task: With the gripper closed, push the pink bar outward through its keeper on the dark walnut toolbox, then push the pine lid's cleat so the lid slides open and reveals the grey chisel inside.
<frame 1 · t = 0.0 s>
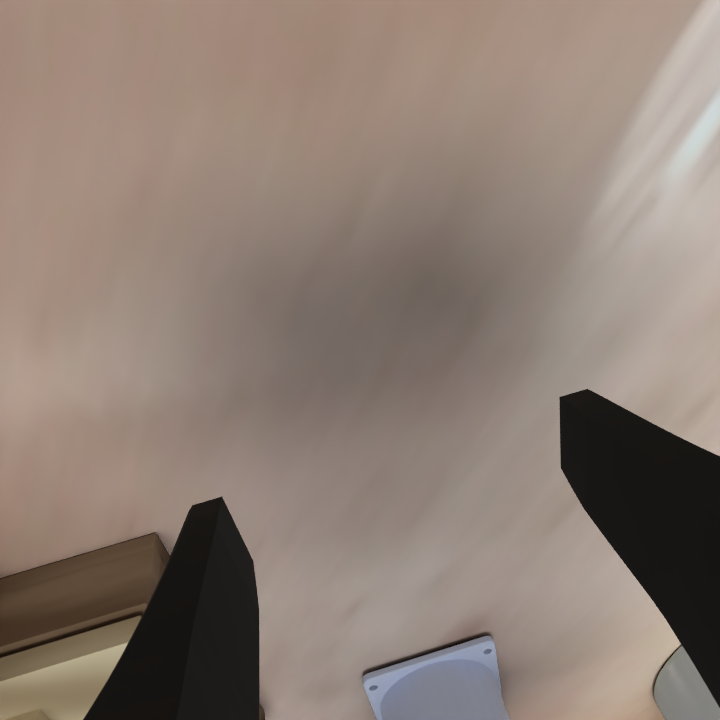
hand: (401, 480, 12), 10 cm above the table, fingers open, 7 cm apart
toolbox: (42, 689, 29), on the table
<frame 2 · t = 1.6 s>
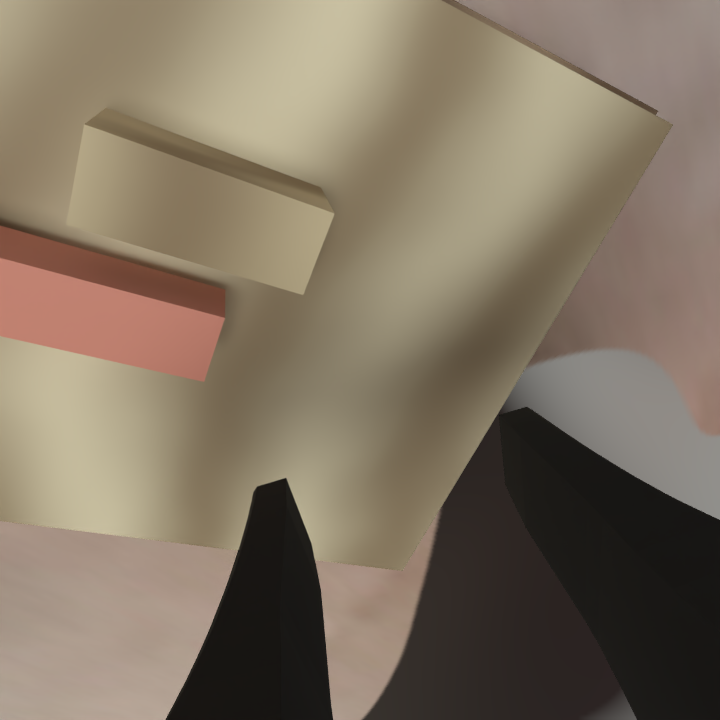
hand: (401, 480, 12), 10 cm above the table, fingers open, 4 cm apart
pink bar: (10, 282, 13), point 6 cm above the table, slide at 0.0 cm
lid: (289, 340, 15), point 5 cm above the table, slide at 0.0 cm
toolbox: (275, 267, 20), on the table
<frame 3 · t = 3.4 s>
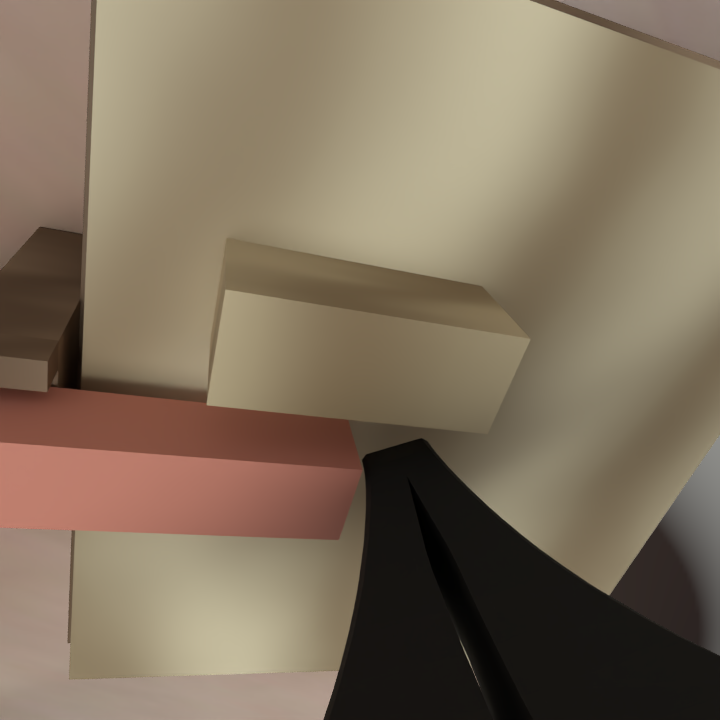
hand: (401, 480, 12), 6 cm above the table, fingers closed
pink bar: (100, 460, 10), point 6 cm above the table, slide at 0.6 cm, touching gripper
lid: (448, 462, 13), point 5 cm above the table, slide at 0.0 cm
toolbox: (391, 346, 17), on the table
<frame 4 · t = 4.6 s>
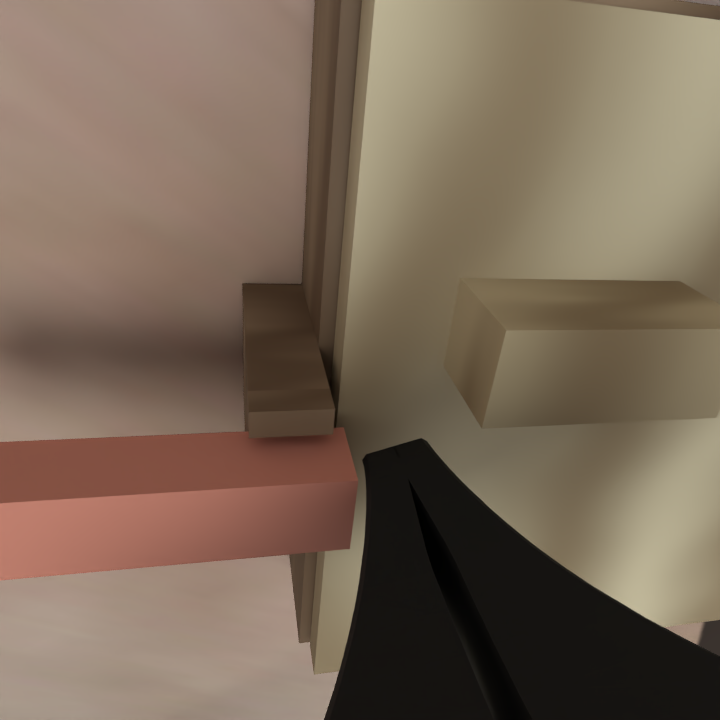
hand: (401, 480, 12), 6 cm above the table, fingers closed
pink bar: (108, 502, 11), point 6 cm above the table, slide at 5.7 cm, touching gripper
lid: (652, 444, 14), point 5 cm above the table, slide at 0.0 cm
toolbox: (548, 339, 18), on the table
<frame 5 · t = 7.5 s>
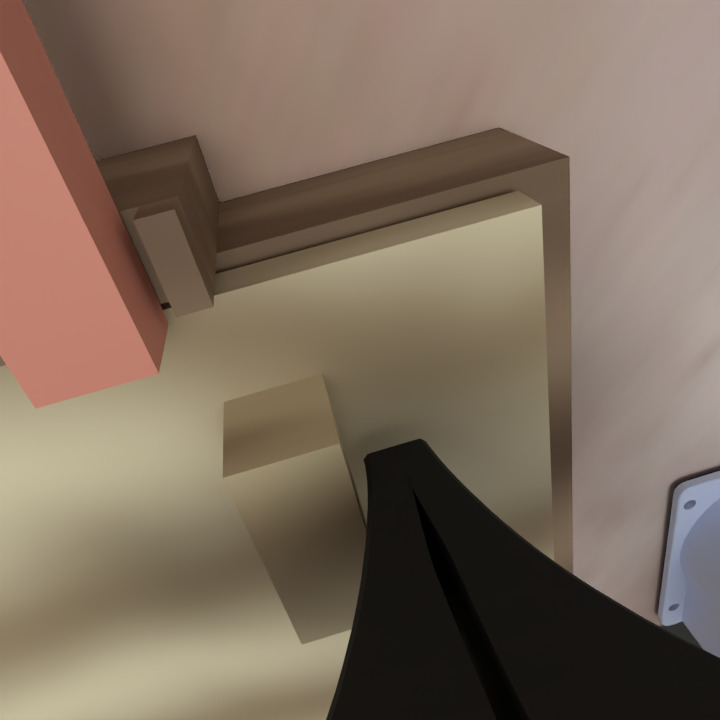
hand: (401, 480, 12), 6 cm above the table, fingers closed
lid: (219, 619, 14), point 5 cm above the table, slide at 0.9 cm, touching gripper
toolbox: (249, 461, 18), on the table
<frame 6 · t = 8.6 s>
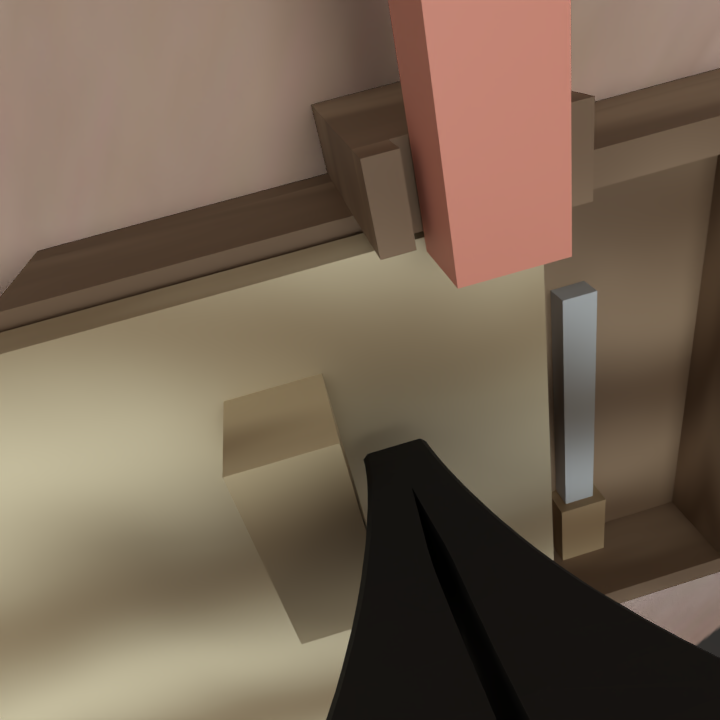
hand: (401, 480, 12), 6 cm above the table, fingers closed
lid: (218, 619, 14), point 5 cm above the table, slide at 7.2 cm, touching gripper
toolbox: (439, 405, 18), on the table
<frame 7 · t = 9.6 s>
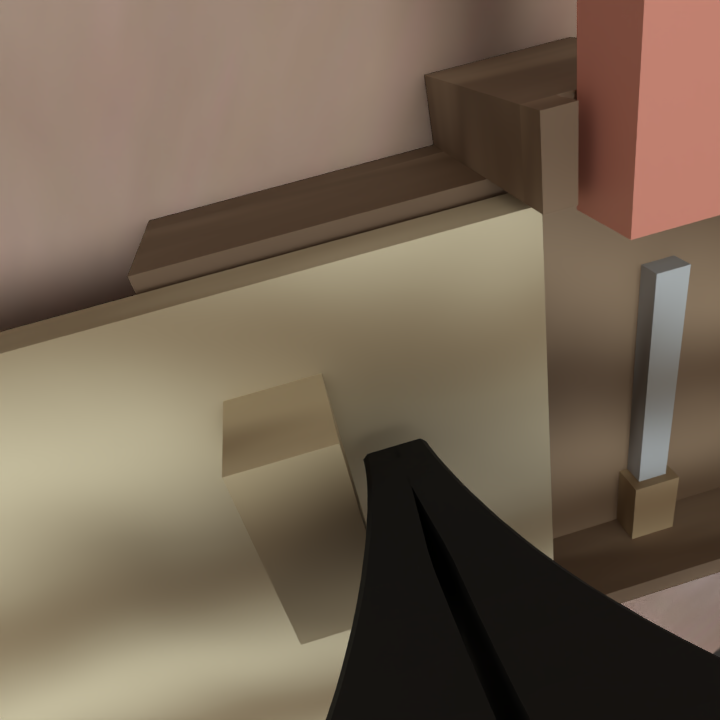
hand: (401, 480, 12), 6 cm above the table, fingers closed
lid: (218, 619, 14), point 5 cm above the table, slide at 10.0 cm, touching gripper
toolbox: (519, 381, 19), on the table
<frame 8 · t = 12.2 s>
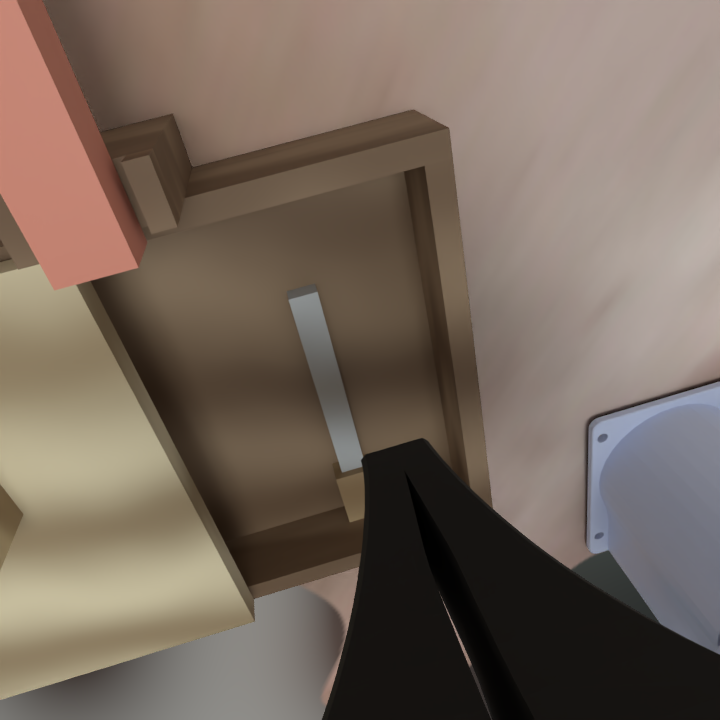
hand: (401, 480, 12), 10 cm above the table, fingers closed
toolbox: (221, 387, 22), on the table
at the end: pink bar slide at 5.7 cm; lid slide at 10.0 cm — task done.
